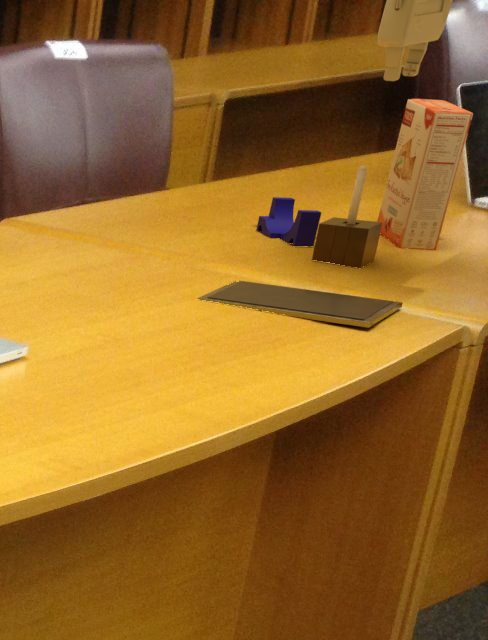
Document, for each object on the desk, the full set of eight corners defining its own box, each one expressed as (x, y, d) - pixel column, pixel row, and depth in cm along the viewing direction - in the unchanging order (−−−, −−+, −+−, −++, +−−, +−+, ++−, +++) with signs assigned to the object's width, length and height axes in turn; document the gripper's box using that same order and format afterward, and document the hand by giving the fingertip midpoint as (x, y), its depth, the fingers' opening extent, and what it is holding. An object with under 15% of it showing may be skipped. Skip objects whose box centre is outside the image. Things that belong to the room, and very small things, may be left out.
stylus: (347, 263, 230) (368, 165, 224) (345, 264, 230) (366, 166, 223) (339, 262, 231) (360, 164, 225) (336, 263, 230) (357, 165, 224)
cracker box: (371, 231, 252) (406, 97, 242) (410, 234, 251) (447, 99, 241) (395, 250, 239) (433, 109, 230) (436, 252, 239) (476, 111, 229)
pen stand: (373, 263, 231) (382, 222, 228) (359, 270, 226) (369, 228, 223) (325, 257, 235) (333, 217, 232) (310, 264, 230) (319, 223, 227)
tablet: (401, 307, 204) (403, 301, 204) (368, 327, 194) (370, 321, 194) (235, 284, 217) (236, 279, 217) (196, 303, 207) (197, 297, 206)
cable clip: (255, 234, 249) (263, 196, 247) (282, 235, 249) (291, 197, 247) (283, 250, 239) (292, 211, 236) (312, 251, 239) (321, 212, 236)
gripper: (428, -26, 204) (403, 85, 210) (467, -29, 218) (442, 74, 224) (378, -27, 207) (355, 82, 213) (419, -31, 221) (396, 72, 227)
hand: (400, 78), depth 219 cm, fingers open, 8 cm apart
